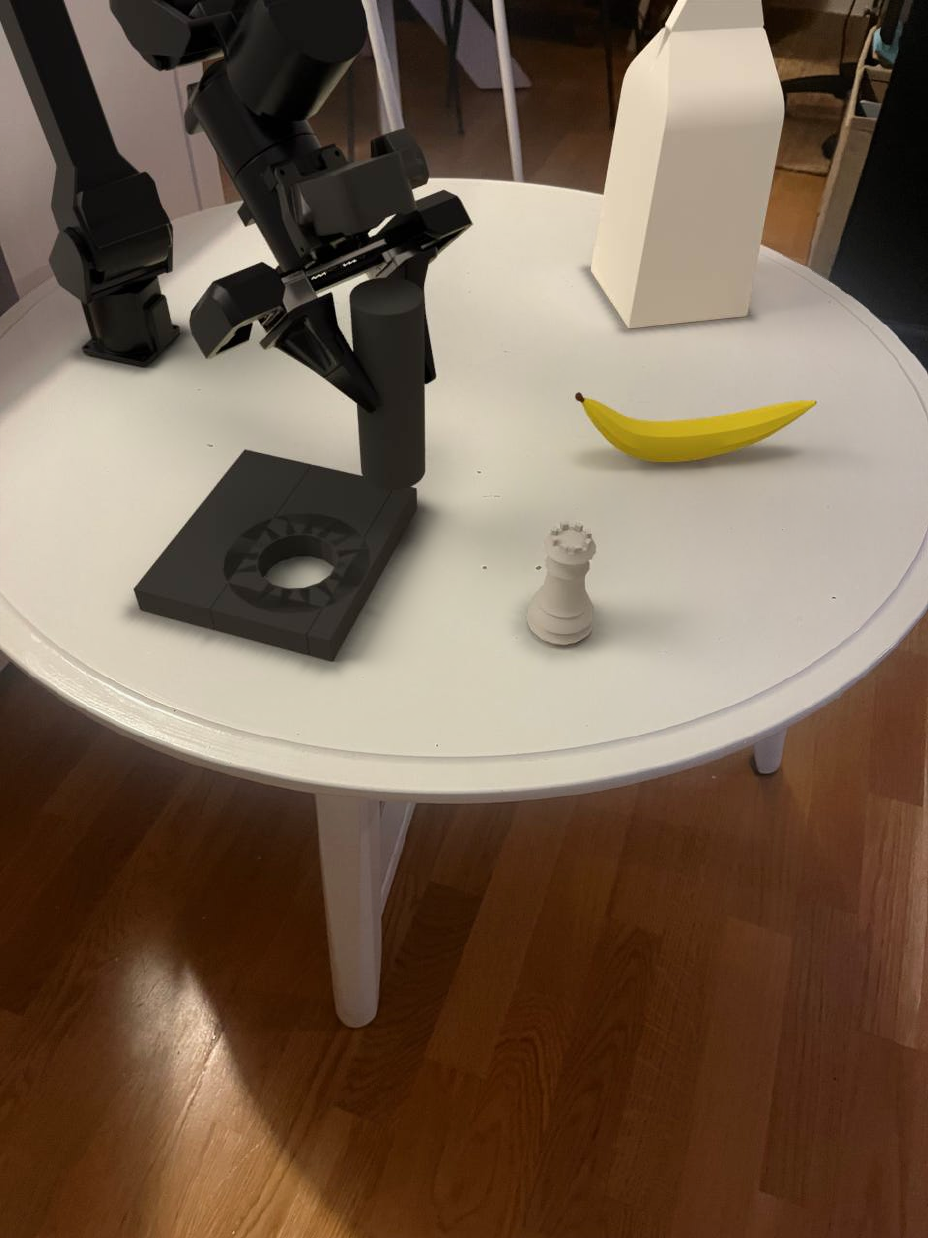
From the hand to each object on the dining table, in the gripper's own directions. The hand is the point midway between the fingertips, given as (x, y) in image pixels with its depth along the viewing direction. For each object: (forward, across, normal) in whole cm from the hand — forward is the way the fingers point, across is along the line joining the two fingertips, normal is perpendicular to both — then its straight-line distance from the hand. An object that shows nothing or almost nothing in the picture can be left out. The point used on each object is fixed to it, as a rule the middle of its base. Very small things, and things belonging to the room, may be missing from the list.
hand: (403, 396), depth 61 cm
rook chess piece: (+18, +2, 0) cm, 18 cm away
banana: (+14, +23, +3) cm, 27 cm away
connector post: (+4, 0, +6) cm, 7 cm away
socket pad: (+5, -7, +12) cm, 15 cm away
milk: (+2, +43, +16) cm, 46 cm away
